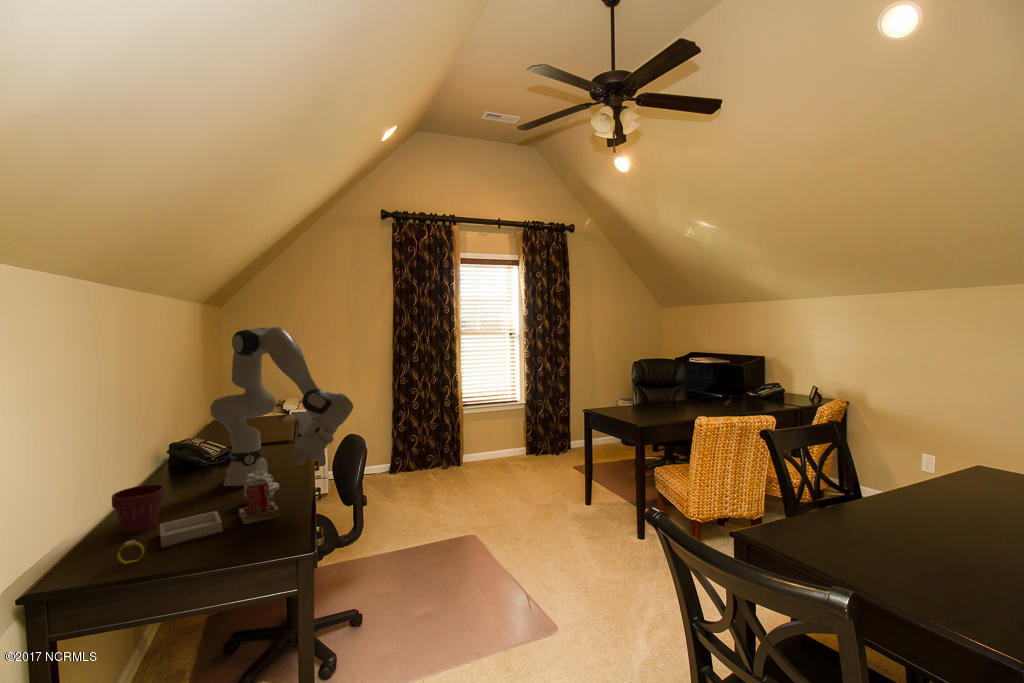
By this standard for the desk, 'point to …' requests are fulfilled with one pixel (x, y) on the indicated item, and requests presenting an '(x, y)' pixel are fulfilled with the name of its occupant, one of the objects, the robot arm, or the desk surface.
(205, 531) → the tray
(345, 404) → the robot arm
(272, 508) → the can holder
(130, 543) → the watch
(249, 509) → the soda can
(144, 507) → the plant pot
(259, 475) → the mechanical part
